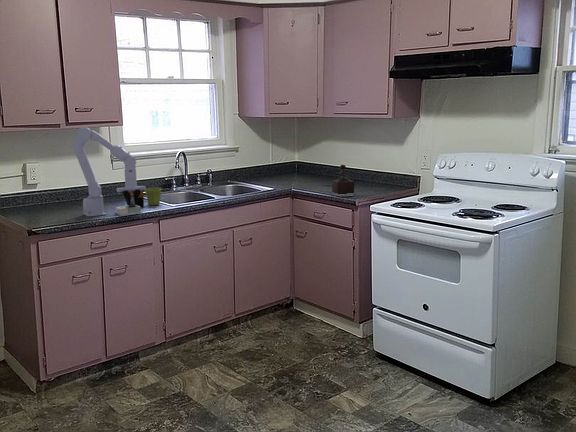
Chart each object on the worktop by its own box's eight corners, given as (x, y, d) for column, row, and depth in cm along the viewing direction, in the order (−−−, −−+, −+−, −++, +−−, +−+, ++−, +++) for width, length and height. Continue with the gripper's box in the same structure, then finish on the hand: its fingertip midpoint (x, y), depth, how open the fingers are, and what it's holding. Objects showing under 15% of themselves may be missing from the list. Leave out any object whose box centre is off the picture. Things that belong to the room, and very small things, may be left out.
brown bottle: (355, 196, 352) (356, 167, 348) (339, 197, 348) (339, 167, 344) (343, 192, 366) (344, 164, 362) (327, 193, 362) (328, 164, 358)
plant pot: (149, 202, 330) (148, 187, 328) (165, 203, 328) (164, 188, 326) (142, 205, 321) (141, 190, 319) (158, 206, 319) (158, 190, 317)
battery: (129, 207, 316) (128, 189, 314) (142, 206, 319) (141, 188, 317) (131, 208, 312) (130, 190, 310) (144, 207, 316) (143, 189, 314)
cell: (130, 209, 300) (129, 194, 298) (128, 208, 302) (127, 193, 301) (136, 208, 302) (135, 194, 300) (134, 207, 304) (133, 193, 303)
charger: (120, 215, 295) (120, 208, 294) (115, 212, 301) (114, 206, 301) (142, 212, 301) (142, 206, 300) (136, 210, 308) (136, 204, 307)
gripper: (119, 180, 291) (121, 207, 294) (147, 178, 300) (148, 204, 302) (114, 179, 297) (116, 205, 300) (142, 176, 305) (143, 202, 308)
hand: (132, 204), depth 301 cm, fingers closed on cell, 3 cm apart
